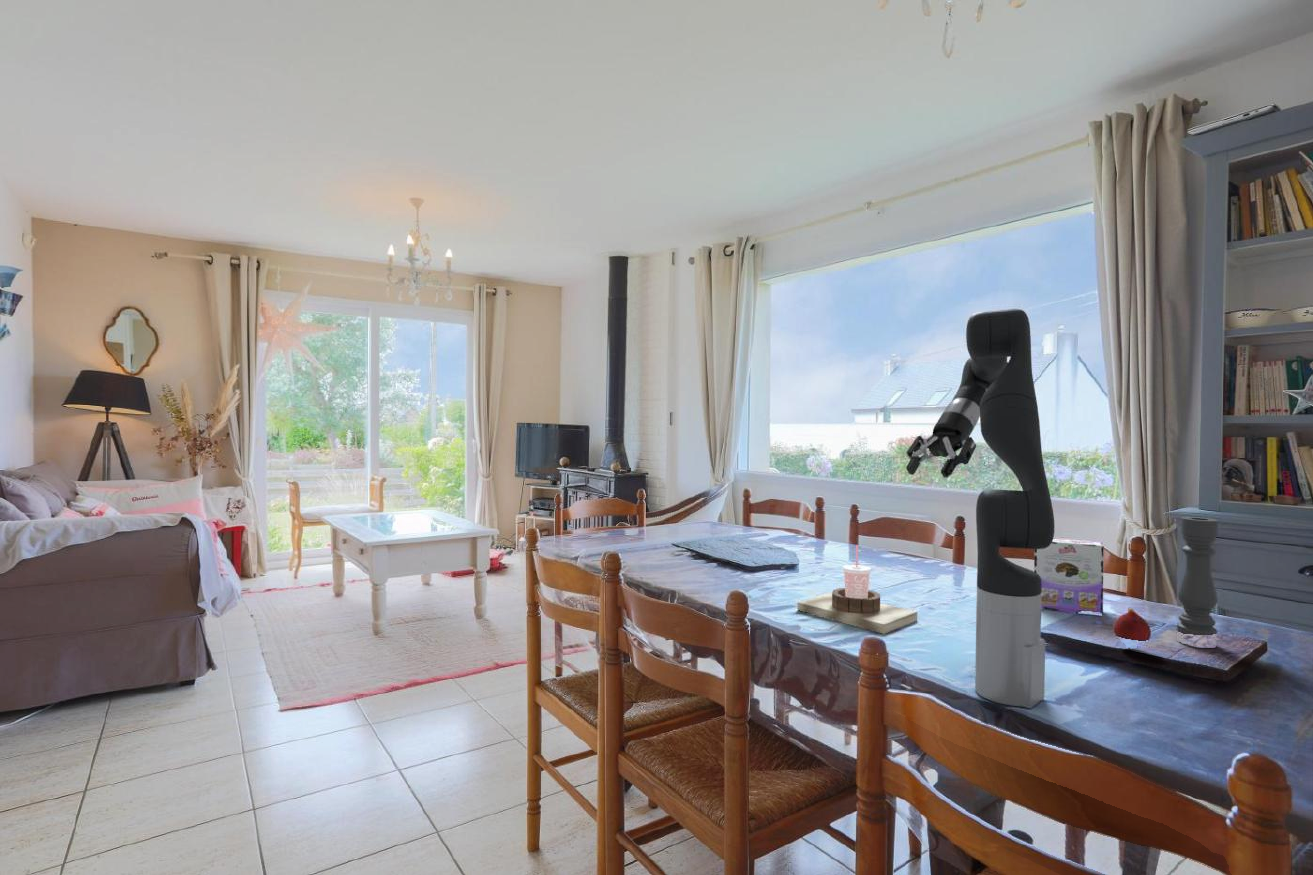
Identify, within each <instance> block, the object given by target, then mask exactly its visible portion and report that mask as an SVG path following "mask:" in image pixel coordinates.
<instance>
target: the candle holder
mask: <svg viewBox="0 0 1313 875" xmlns="http://www.w3.org/2000/svg"><path fill="white" fill-rule="evenodd" d="M1180 520H1181V521H1180V534H1181V535H1182V539H1183V540H1184V543H1186V545H1184V546H1183V547H1181V551H1182V552H1183V553H1184V555H1185V569H1184V570H1185V571H1184V574H1183V577H1182V580H1181V583H1180V586H1179V589H1178V592H1177V599H1178V600H1179V602H1180V604H1181V605H1182V606H1183V607H1182V609H1183V610H1184V611H1182V613H1181V614H1179V616H1178V620H1179V621H1180V622H1177V624H1176V632H1177V631H1178V632H1181V633H1183V634H1193V635H1213V634H1217V635H1218V633H1217V632H1218V630H1217V629H1216V628H1215V626H1216V620H1215V619H1214V618H1213V616H1212V615H1211V613H1212V612H1213V610H1212V609H1214V608H1215V606H1216V605H1217V603H1218V599H1219V598H1218V595H1217V591H1216V587H1215V583H1214V578H1213V575H1212V558H1213V556H1214V555H1216V553H1217V552H1216V549H1214V548H1213V547H1212V546H1213V545H1214V543H1215V541H1216V540H1217V538H1218V536H1219V535H1218V534H1219V532H1218V531H1219V519H1214V518H1209V517H1208V518H1207V517H1201V516H1200V517H1197V516H1181V518H1180Z"/></svg>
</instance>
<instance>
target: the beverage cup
mask: <svg viewBox="0 0 1313 875" xmlns="http://www.w3.org/2000/svg"><path fill="white" fill-rule="evenodd" d="M871 570H872V568H871V567H870V566H868V565H862V564H859V545H857V544H856V545H855V564H846V565H845V564H844V565H843V566H842V571H843V577H844V588H845V597H849V598H858V599H864V598H868V590H869V585H870V573H871V572H872V571H871Z"/></svg>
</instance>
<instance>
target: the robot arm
mask: <svg viewBox="0 0 1313 875" xmlns="http://www.w3.org/2000/svg"><path fill="white" fill-rule="evenodd" d="M1030 326H1031V325H1030V320H1029V317H1028V314H1027V313H1026V312H1025V311H1024V310H1023V309H1019V308H1008V309H997V310H984V311H980V312H979V311H978V312H975V313H972V314H971V315H970V316H969V318H968V320H967V323H966V332H965V333H966V334H965V336H966V337H965V339H966V340H965V341H966V342H965V343H966V349H967V351H968V354H969V356H970V357H969V358H968V359H967V360H966V361H965V363H964V365H963V368H962V375H961V382H960V385H959V386H958V389H957V392H956V393H955V395H953V396H954V397H953V398H952V399H951V401H950V402H949V403H948V405H947V406H946V407H945V409H944V410H943V412H942V413H941V415H940V417H939V418H938V420H937V422H936V423H935V425H934V426H933V430H932V434H931V435H930V436H929V437H928V438H923V437H922V435H917V436H916V437H915V439H914V440H913V442H912V443H911V445H910V446H909V448H908V449H907V451H906V453H905V454H906V455H907V457H908V458H909V461H908V463H907V465H906V467H905V469H906V471H907V473H908V474H909V475H912V476H914V475H915V473H916V472H917V470H918V468H919V467H920V465H921V463H923V462H924V461H925V460H930V459H932V458H934V457H943V458H947V457H949V458H947V459H946V461H945V463H944V465H943V466H942V468H941V469H940V473H941V475H942V477H943V478H949V477H950V476H951V475H952V474H953V473H954V471H955V469H956V468H957V466H958V467H959V466H960V465H961V464H963V465H968V463H969V462H970V460H971V458H972V457H973V454H974V451H975V450H976V448H977V444H976V442H975V441H974V439H973V437H972V436H971V435H972V433H973V431H974V429H975V428H976V426H977V424H978V422H979V421H980V422H979V423H980V432H981V436H982V438H983V440H984V442H985V443H986V445H988V448H990V450H991V451H993V453H994V454H995V455H996V456H997V457H998V458H999V459H1000V460H1001V461H1002V462H1003V463H1005V465H1006V466H1007V467H1008V468H1009V469H1010V470H1011V471H1012V473H1013V474H1014V475H1015V477H1016V479H1017V480H1018V482H1019V484H1020V486H1021V489H1022V490H1017V489H1016V490H1015V489H1014V490H1012V489H1007V490H1006V489H984V490H982V491H981V492H980V493H979V494H978V497H977V499H976V505H975V506H976V508H975V518H976V519H975V522H976V538H977V539H976V541H977V542H976V543H977V546H976V547H977V572H976V607H975V608H976V609H975V610H976V612H975V614H976V618H975V620H976V621H975V664H974V666H975V670H974V671H975V675H974V684H975V685H974V687H975V689H974V690H975V692H976V693H977V694H978V695H979V696H980V697H982V698H984V699H987V700H989V701H992V702H993V703H994V702H995V703H998V704H1002V705H1007V706H1011V707H1012V706H1013V707H1014V706H1015V707H1024V708H1025V709H1026V708H1027V709H1032V708H1033V707H1034V706H1036V705H1037V704H1039V703H1040V702H1041V701H1042V700H1044V699H1045V685H1046V684H1045V677H1046V674H1045V673H1046V639H1044V638H1043V637H1041V635H1042V633H1041V632H1042V629H1041V628H1042V609H1041V592H1042V581H1041V577H1040V576H1039V575H1038V574H1037V573H1035V572H1034V570H1031V569H1029V568H1027V567H1023V566H1021V565H1018V564H1016V563H1014V562H1012V561H1010V560H1009V559H1007V558H1006V557H1004V556H1003V555H1002V554H1001V553H1000V548H1010V549H1021V550H1022V549H1027V550H1034V549H1044V548H1047V547H1048V546H1050V544H1051V543H1052V541H1053V538H1055V517H1054V509H1053V504H1052V497H1051V494H1050V493H1051V492H1050V489H1049V485H1048V480H1047V476H1046V475H1047V474H1046V470H1045V465H1044V460H1043V459H1044V458H1043V453H1042V452H1043V450H1042V439H1041V438H1042V436H1041V424H1040V416H1039V415H1040V414H1039V408H1038V406H1039V405H1038V402H1037V396H1036V395H1037V394H1036V389H1035V383H1034V377H1033V366H1032V362H1033V361H1032V340H1031V339H1032V338H1031V327H1030ZM1008 357H1009V360H1008ZM927 449H928V451H929V453H928V452H927ZM959 450H960V451H959ZM958 451H959V452H958ZM957 452H958V453H959V454H957ZM920 455H921V456H920Z"/></svg>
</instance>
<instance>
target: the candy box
mask: <svg viewBox="0 0 1313 875" xmlns="http://www.w3.org/2000/svg"><path fill="white" fill-rule="evenodd" d="M1033 550H1034V560H1033V561H1034V562H1033V565H1034V566H1033V568H1034V570H1033V571H1034V572H1035V573H1037V574H1038V575H1039V576H1040V577H1041V581H1042V592H1041V610H1046V611H1047V610H1049V611H1055V612H1063V613H1070V614H1071V613H1072V614H1078V612H1081V611H1092V612H1100V613H1103V614H1104V544H1103V541H1094V540H1093V541H1092V540H1080V539H1079V540H1078V539H1067V538H1066V539H1065V538H1055V537H1054V538H1053V541H1052V543H1051V544H1050V546H1048V547H1047V548H1044V549H1033Z"/></svg>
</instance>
